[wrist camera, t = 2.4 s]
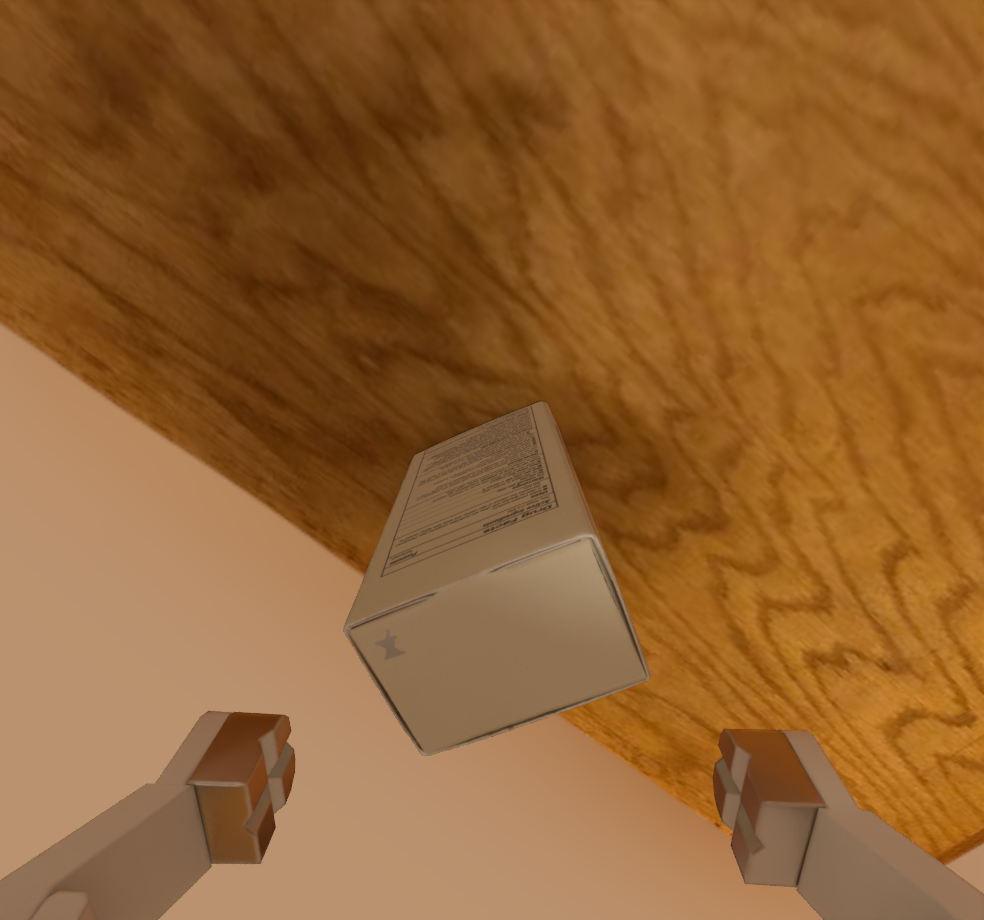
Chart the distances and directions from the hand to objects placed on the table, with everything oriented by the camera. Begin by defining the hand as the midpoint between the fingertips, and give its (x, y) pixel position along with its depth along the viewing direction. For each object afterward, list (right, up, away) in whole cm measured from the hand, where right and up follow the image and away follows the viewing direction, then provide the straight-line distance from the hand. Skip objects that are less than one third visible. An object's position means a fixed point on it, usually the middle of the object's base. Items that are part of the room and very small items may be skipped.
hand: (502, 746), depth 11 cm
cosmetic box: (0, +5, +14) cm, 15 cm away
